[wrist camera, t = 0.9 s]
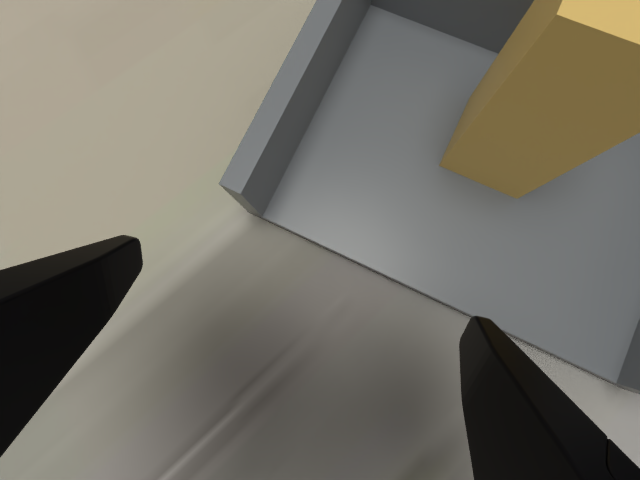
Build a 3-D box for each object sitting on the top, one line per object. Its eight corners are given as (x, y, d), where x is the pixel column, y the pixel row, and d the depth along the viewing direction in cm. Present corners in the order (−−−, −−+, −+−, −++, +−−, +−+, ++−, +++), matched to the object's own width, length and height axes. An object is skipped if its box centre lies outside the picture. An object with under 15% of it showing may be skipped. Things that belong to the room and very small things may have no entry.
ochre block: (516, 198, 22) (736, 79, 10) (438, 165, 22) (556, 14, 10) (546, 127, 22) (788, -68, 10) (470, 96, 23) (615, -122, 11)
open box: (623, 388, 21) (739, 426, 15) (248, 212, 23) (218, 183, 17) (714, 131, 23) (848, 72, 17) (360, -4, 25) (367, -96, 19)
